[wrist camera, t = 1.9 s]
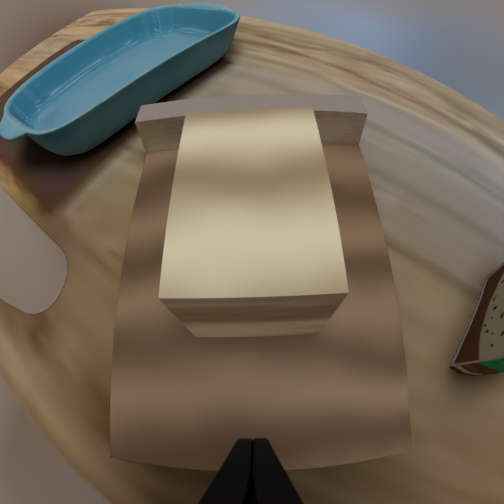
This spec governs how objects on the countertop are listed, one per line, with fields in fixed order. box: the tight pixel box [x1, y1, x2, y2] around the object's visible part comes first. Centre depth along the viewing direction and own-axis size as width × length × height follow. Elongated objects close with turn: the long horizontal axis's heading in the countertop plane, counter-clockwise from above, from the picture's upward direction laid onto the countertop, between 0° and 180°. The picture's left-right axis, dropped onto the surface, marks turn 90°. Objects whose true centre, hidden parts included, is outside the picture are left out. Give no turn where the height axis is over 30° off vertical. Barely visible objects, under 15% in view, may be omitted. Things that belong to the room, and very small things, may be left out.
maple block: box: [159, 108, 349, 337], centre depth 19 cm, size 12×8×8 cm, turn 1°
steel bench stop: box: [135, 94, 367, 153], centre depth 26 cm, size 2×20×4 cm, turn 91°
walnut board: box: [110, 144, 411, 471], centre depth 23 cm, size 29×20×2 cm
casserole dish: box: [0, 2, 240, 156], centre depth 34 cm, size 37×22×7 cm, turn 144°
